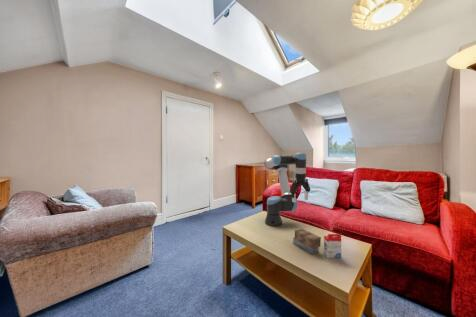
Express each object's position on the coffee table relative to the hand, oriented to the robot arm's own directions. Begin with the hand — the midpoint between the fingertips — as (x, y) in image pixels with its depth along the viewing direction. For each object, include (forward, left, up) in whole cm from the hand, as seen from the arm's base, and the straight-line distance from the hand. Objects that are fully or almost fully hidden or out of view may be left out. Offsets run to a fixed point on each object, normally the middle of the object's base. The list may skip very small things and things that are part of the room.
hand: (300, 200), depth 137 cm
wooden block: (+16, -11, -23) cm, 30 cm away
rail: (+15, -11, -27) cm, 32 cm away
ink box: (+29, -4, -27) cm, 40 cm away
